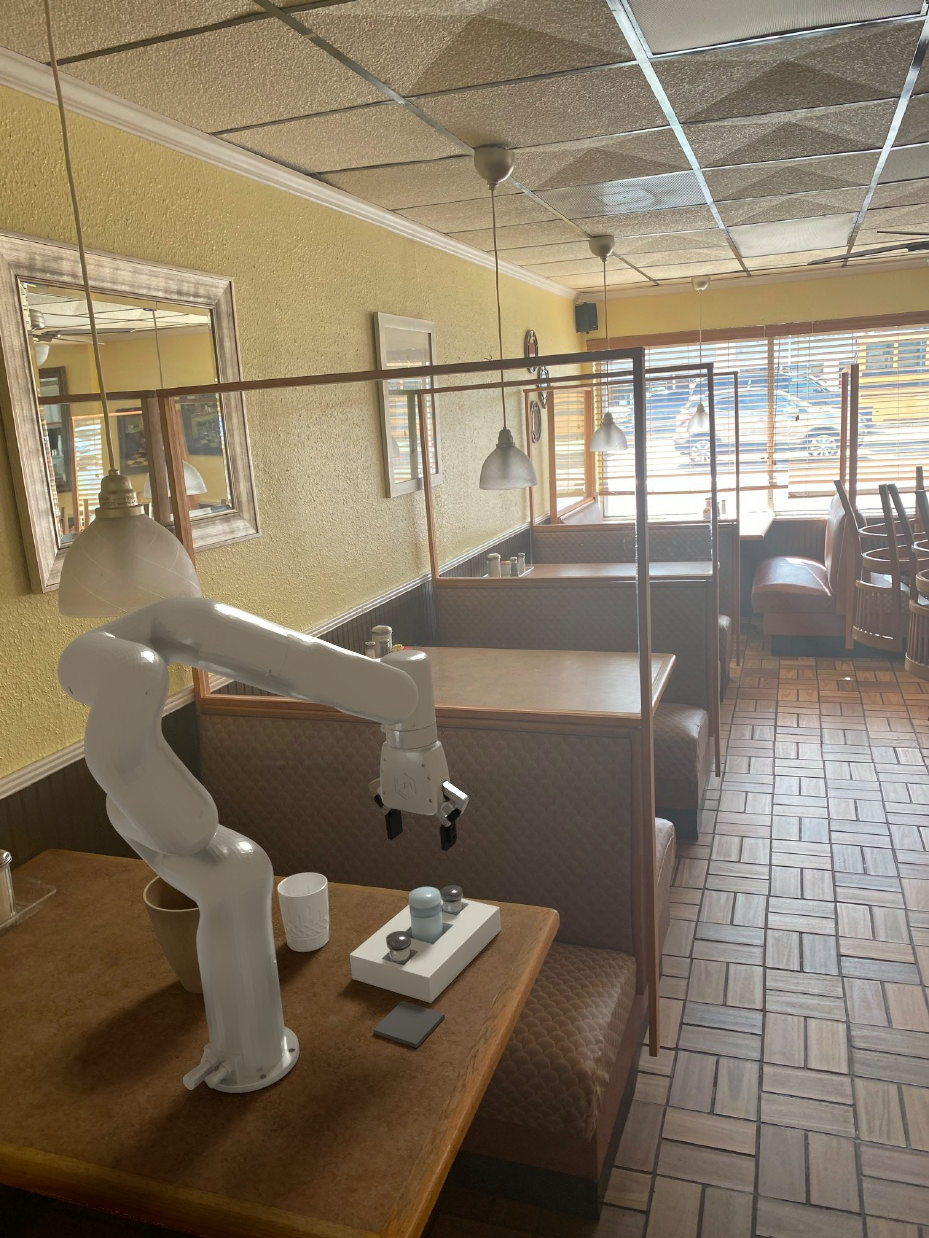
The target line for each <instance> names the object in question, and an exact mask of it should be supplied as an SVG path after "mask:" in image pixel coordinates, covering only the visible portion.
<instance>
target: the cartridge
mask: <svg viewBox="0 0 929 1238" xmlns="http://www.w3.org/2000/svg"><path fill="white" fill-rule="evenodd" d="M408 905H409V908H410V916H411V928H412V939H416V940H419V941H423V942H427V943H430V944H434V943H435V942H436V941H437V940H438V939H440V938H441V937H442V936H443V924H442V911H441V910H442V907H441V898H440V890H439V889H438V888H437V887H433V886H421V887H417V888H415V889H413V890H411V891H410V892H409V894H408Z"/></svg>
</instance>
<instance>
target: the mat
mask: <svg viewBox="0 0 929 1238" xmlns="http://www.w3.org/2000/svg"><path fill="white" fill-rule="evenodd" d="M444 1019H445V1013H442V1012H441V1011H440V1012H439V1011H437V1010H433V1009H430V1008H426V1007H424V1006H421V1005H418V1004H414V1003H411V1002H407V1001H405V1000H401V1001H400V1002H399V1004H398V1005H396V1007H394V1008H393V1009H392V1010H391V1011H390V1012H389V1013H388V1014H387V1015H386V1016H385V1017H384V1018H383V1019H382V1020H381V1021H380V1022H379V1023H378V1024H377V1025H376V1026H375V1027H374V1028H373V1029H372V1030H373V1034H374V1035H377V1036H380V1037H382V1038H386V1039H389V1040H392V1041H394V1042H398V1043H400V1044H404V1045H407V1046H409V1047H413V1048H416V1049H417V1048H418V1047H420V1045H421V1044H422V1043H423V1042H424V1041H425V1040H426V1039H427V1038H428V1036H429V1035H430V1034H431V1033H432V1032H433V1031H434V1030H435V1029H436V1028H437V1027H438V1025H440V1024H441V1022H442V1021H443V1020H444Z"/></svg>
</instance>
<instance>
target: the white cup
mask: <svg viewBox="0 0 929 1238" xmlns="http://www.w3.org/2000/svg"><path fill="white" fill-rule="evenodd" d="M328 888H329V887H328V879H327V877H326V876H325V875H323V874H321V873H319V872H301V873H296V874H292V875H290V876H287V877H286V878H284V879H283V880H281V881H280V882H279V883H278V884H277V888H276V891H277V895H278V901H279V906H280V907H279V908H280V913H281V918H282V924H283V928H284V930H285V938H286V943H287V946H288V947H289V949H290V950H292V951H295V952H298V953H299V952H301V953H305V952H306V953H307V952H308V953H309V952H312V951H316V950H319V949H320V948H322V947H325V946H326V944H327V943H328V942H329V940H330V927H329V925H330V908H329V905H330V904H329V890H328Z"/></svg>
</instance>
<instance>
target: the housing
mask: <svg viewBox="0 0 929 1238" xmlns="http://www.w3.org/2000/svg"><path fill="white" fill-rule="evenodd" d="M440 898H441V897H440ZM461 903H462V911H461V912H460V913H459V914H458V915H457V916H456V915H452V914H448V913H444V912H443V900H441V907H442V910H441V911H442V924H443V936H442V937H441V938H440V939H438V940H437V941H436V942H435V943H434V944H430V943H427V942H423V941H419V940H416V939H412V928H411V916H410V908H409V904H407V906H406V907H404V908H403V909H402V910H401V911H399V913H397V914H396V915H395V916H394V917H393V918H392V917H391V919H390V920H389V921H387V923H385V924H384V925H383V926H382V927H381V928H379V929H378V930H377V931H376V932H374V934H372V935H371V936H370V937H369V938H368V939H366V940H365V941H364V942H363V943H362V944H360V945H359V946H358V947H357V948H355V950H353V951H352V952H350V954H349V959H350V971H351V978H352V979H351V980H355V981H359V982H362V983H364V984H368V985H371V986H375V987H377V988H382V989H385V990H388V991H391V992H395V993H398V994H401V995H402V996H403V995H404V996H407V997H410V998H414V999H417V1000H419V1001H423V1002H426V1003H430V1004H432V1003H433V1002H434V1000H435V999H436V998H438V997H439V996H440V994H441V993H442V992H443V991H444V990H445V989H446V988H447V987H448V986H449V985H450V984H451V983H452V981H454V980H455V979H456V978H457V976H458V975H459V974H461V972H462V971H463V970H464V969H465V968H466V967H467V966H469V964H470V963H471V962H472V961H473V960H474V959H475V958H476V957H477V956H478V955H479V954H480V953H481V951H482V950H484V949H485V947H486V946H488V945H489V943H491V941H492V940H493V939H494V938H495V937H496V936H497V935H498V934H499V933H500V931H502V926H501V925H502V924H501V911H500V908H501V907H499V906H497V905H492V904H486V903H484V902H483V903H482V902H478V901H476V900H475V901H474V900H470V899H465V898H463V897H462V898H461ZM395 931H405V932H408V933H409V934H410V936H411V945H410V946H409V947H410V960H409V961H408V962H407V963H406V964H405V965H400V964H397V963H393V962H390V953H389V948H388V947H387V943H386V937H387V936H388V935H389V934H390V933H392V932H395Z"/></svg>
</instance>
